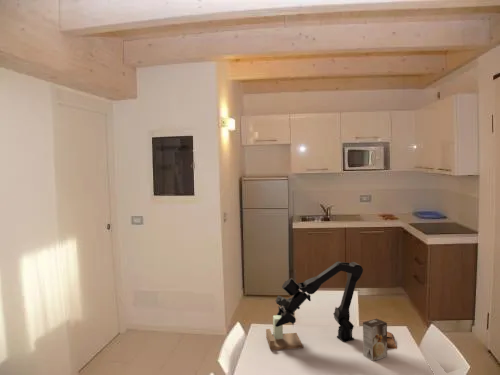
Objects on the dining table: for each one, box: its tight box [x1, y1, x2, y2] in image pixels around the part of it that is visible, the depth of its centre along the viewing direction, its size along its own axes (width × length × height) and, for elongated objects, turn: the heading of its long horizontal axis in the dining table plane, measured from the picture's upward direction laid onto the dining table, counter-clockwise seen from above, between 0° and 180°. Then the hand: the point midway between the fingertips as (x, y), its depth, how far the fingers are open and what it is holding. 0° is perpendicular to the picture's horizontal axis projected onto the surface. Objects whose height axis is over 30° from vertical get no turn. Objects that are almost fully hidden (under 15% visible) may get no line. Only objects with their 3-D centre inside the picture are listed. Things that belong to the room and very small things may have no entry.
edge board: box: [265, 328, 304, 351], centre depth 196 cm, size 16×14×4 cm
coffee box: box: [362, 318, 388, 362], centre depth 179 cm, size 9×6×16 cm
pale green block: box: [272, 314, 284, 339], centre depth 195 cm, size 4×5×10 cm
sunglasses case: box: [387, 331, 398, 350], centre depth 196 cm, size 18×7×7 cm, turn 169°
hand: (275, 324), depth 195 cm, fingers closed on pale green block, 5 cm apart
